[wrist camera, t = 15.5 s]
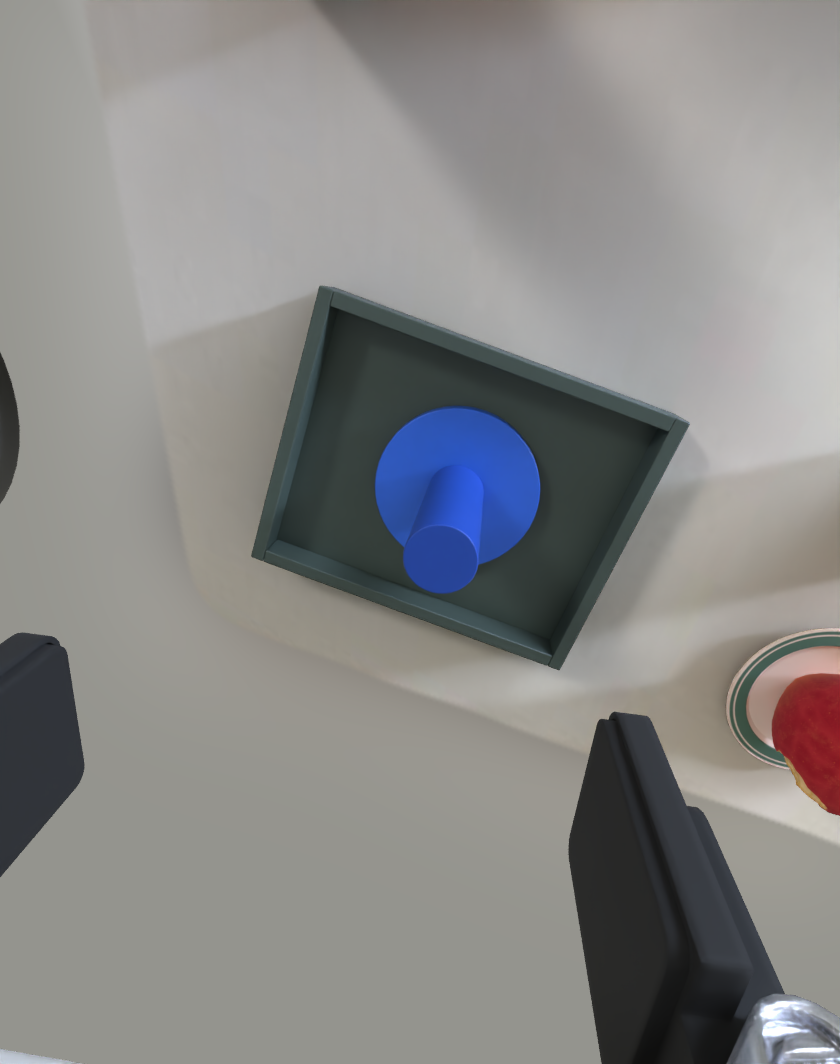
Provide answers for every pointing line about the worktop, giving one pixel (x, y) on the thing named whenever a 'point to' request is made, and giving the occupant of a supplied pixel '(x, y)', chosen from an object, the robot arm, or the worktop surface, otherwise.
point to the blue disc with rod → (456, 493)
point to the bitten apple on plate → (793, 710)
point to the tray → (439, 381)
